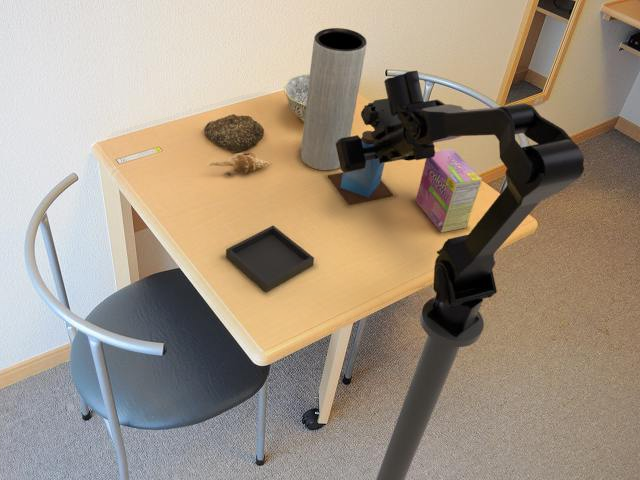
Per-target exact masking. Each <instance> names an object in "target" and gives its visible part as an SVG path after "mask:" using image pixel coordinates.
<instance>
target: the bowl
mask: <svg viewBox="0 0 640 480" xmlns="http://www.w3.org/2000/svg"><path fill="white" fill-rule="evenodd" d="M309 77H310V73H304V74H299V75H296V76H293V77H291V78H289V79H288V80H287V81H286V82H285V83H284V85H283V90H284V94H285V96H286V99H287V102H288V106H289V108H290V110H291V111H292V112H293V114H294V115H295V116H297V117H298V118H299V119H300V120H301V121H302V122H303V123H304V119H305V111H306V103H307V94H308V86H309Z"/></svg>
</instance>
